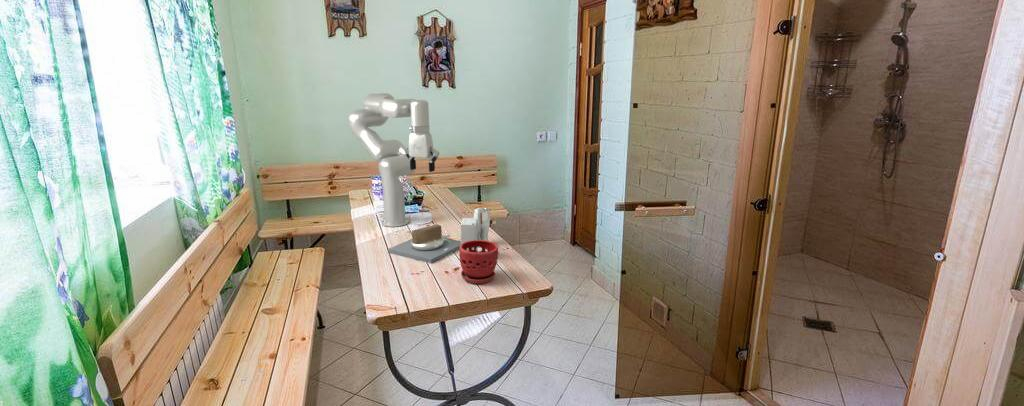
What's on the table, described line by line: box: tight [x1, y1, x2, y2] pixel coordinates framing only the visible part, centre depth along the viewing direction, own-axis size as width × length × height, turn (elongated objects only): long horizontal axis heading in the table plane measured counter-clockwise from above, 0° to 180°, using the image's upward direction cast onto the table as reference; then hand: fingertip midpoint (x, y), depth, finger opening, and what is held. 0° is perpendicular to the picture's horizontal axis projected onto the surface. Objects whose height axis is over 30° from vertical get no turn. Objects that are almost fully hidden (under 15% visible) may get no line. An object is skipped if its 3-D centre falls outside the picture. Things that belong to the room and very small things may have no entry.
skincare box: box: [460, 217, 479, 260], centre depth 178 cm, size 8×6×15 cm
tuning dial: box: [411, 223, 451, 251], centre depth 189 cm, size 18×13×7 cm
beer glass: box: [472, 207, 491, 241], centre depth 192 cm, size 7×7×15 cm
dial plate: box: [387, 237, 461, 264], centre depth 189 cm, size 22×22×2 cm
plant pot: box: [458, 240, 499, 284], centre depth 160 cm, size 13×13×12 cm
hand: (422, 170), depth 201 cm, fingers open, 9 cm apart
